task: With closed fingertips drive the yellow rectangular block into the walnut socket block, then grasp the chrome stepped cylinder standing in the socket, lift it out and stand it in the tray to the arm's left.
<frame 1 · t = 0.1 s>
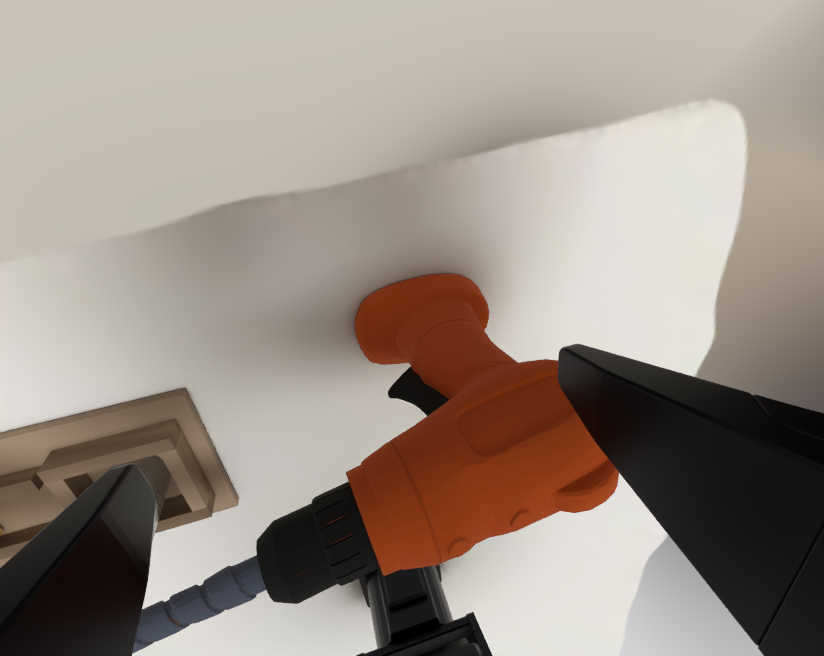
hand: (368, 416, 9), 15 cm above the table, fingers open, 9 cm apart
chrome stepped cylinder: (140, 474, 24), point 1 cm above the table, touching socket block
socket block: (106, 477, 25), on the table
toy drill: (344, 334, 25), on the table
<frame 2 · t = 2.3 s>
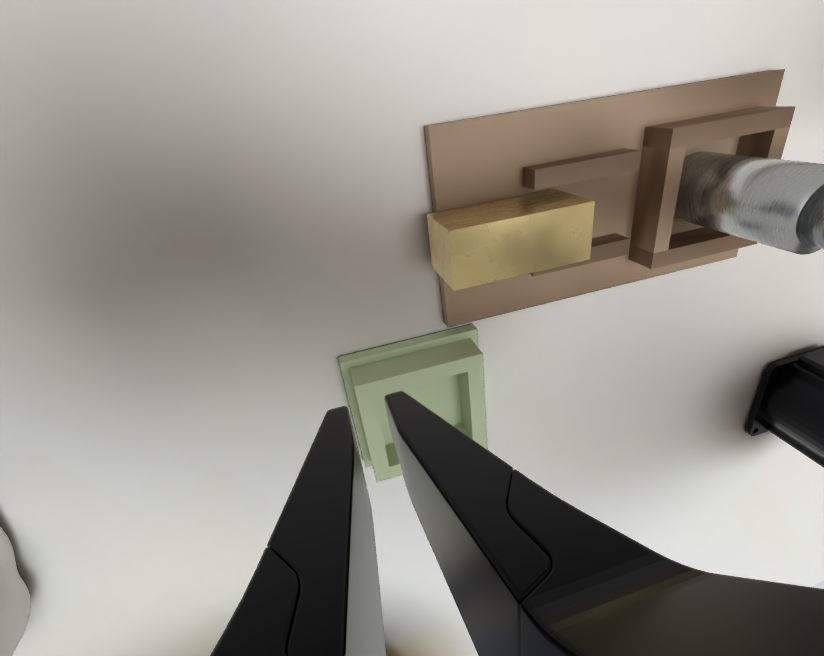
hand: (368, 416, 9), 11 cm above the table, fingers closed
chrome stepped cylinder: (691, 186, 21), point 1 cm above the table, touching socket block
socket block: (646, 191, 21), on the table
tray: (415, 395, 23), on the table
yellow rectangular block: (507, 236, 18), point 2 cm above the table, slide at 0.0 cm
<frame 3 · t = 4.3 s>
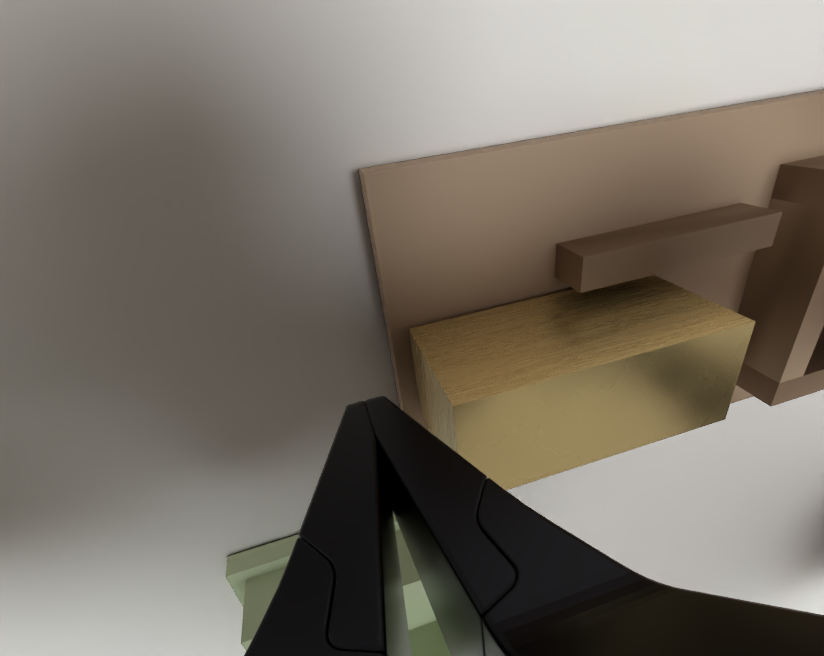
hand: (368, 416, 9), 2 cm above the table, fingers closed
socket block: (758, 267, 12), on the table
tray: (370, 585, 14), on the table
yellow rectangular block: (565, 373, 9), point 2 cm above the table, slide at 0.9 cm, touching gripper
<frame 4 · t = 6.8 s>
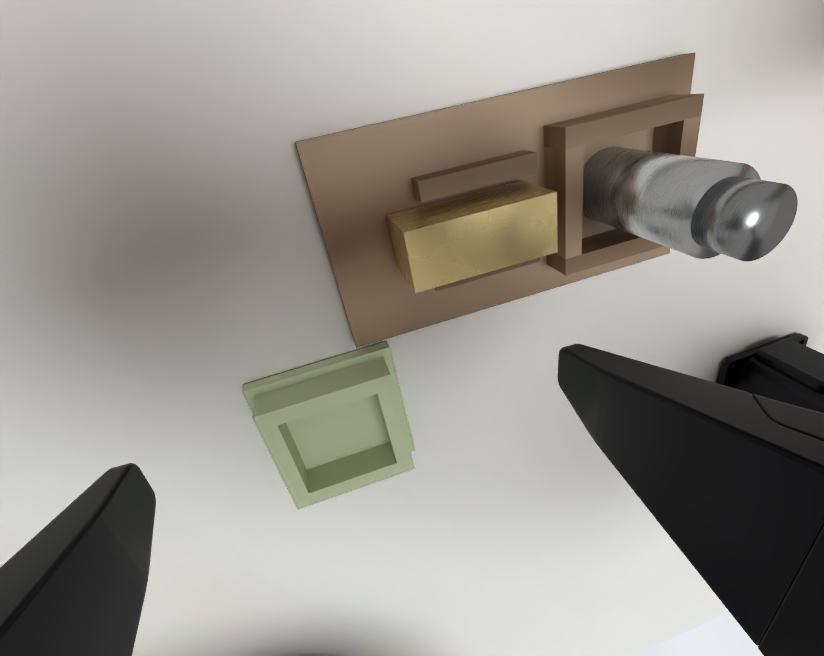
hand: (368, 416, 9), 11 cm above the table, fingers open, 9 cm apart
chrome stepped cylinder: (606, 184, 20), point 1 cm above the table, touching socket block
socket block: (559, 192, 20), on the table
tray: (336, 416, 22), on the table
yellow rectangular block: (471, 233, 17), point 2 cm above the table, slide at 3.2 cm
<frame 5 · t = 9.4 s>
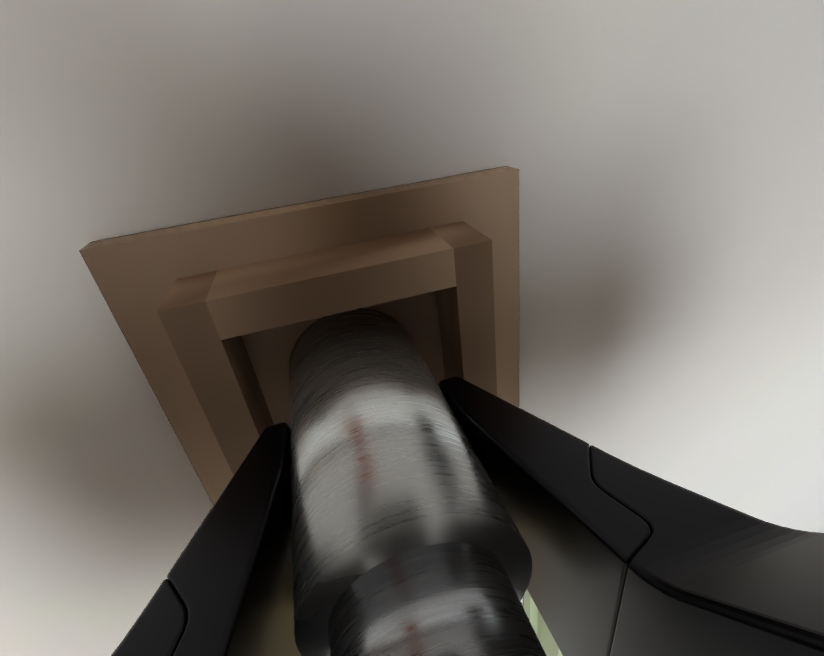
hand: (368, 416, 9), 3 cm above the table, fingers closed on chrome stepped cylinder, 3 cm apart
chrome stepped cylinder: (354, 366, 11), point 1 cm above the table, touching gripper, socket block
socket block: (364, 412, 12), on the table
tray: (591, 578, 20), on the table
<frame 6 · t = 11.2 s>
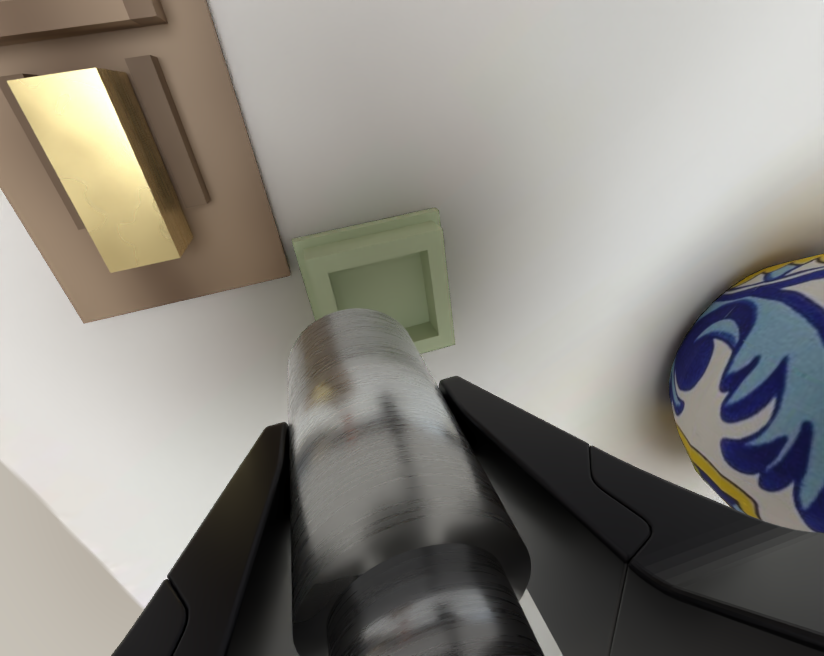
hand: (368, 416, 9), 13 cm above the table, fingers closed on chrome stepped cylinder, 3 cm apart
chrome stepped cylinder: (354, 366, 11), point 11 cm above the table, touching gripper
tray: (378, 289, 22), on the table
yellow rectangular block: (118, 173, 15), point 2 cm above the table, slide at 3.2 cm
table lamp: (746, 347, 32), on the table
rabbit: (414, 562, 34), on the table
when the fingers open (4 cm above the table, at t = 13.5 s): chrome stepped cylinder drops 1 cm, resting on tray.
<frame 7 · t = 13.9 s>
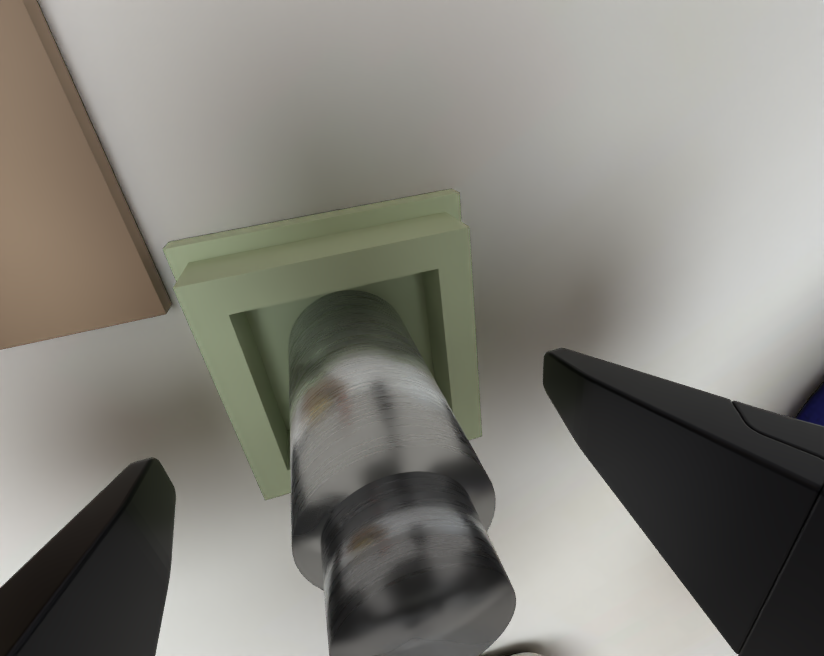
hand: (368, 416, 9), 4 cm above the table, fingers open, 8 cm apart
chrome stepped cylinder: (348, 344, 12), point 1 cm above the table, touching tray
tray: (346, 335, 12), on the table
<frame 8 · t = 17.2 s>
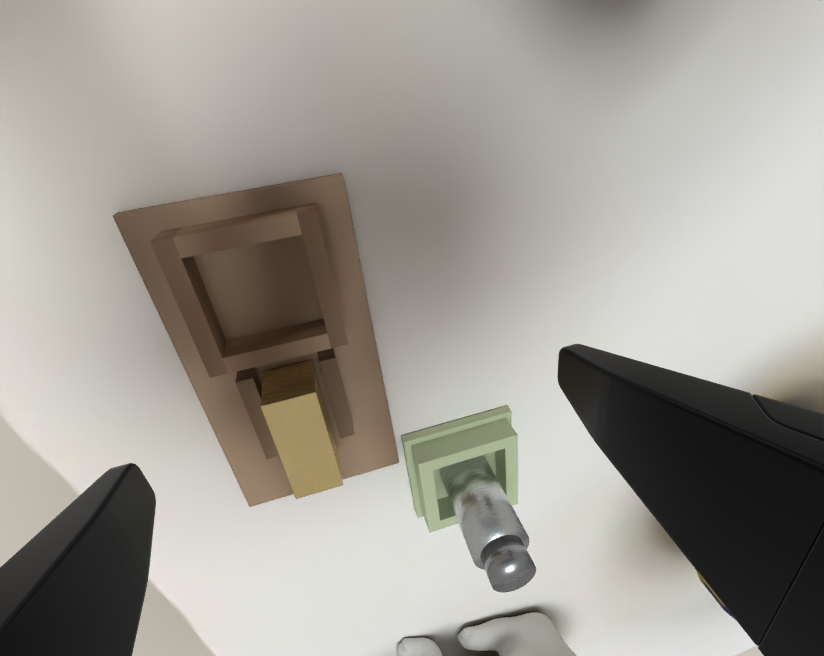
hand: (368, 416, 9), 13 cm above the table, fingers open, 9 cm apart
chrome stepped cylinder: (462, 466, 28), point 1 cm above the table, touching tray
socket block: (274, 318, 21), on the table
tray: (459, 460, 28), on the table
yellow rectangular block: (304, 429, 21), point 2 cm above the table, slide at 3.2 cm
rabbit: (461, 645, 40), on the table
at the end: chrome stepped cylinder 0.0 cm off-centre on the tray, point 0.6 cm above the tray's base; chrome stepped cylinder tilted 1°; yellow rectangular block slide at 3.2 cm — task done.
